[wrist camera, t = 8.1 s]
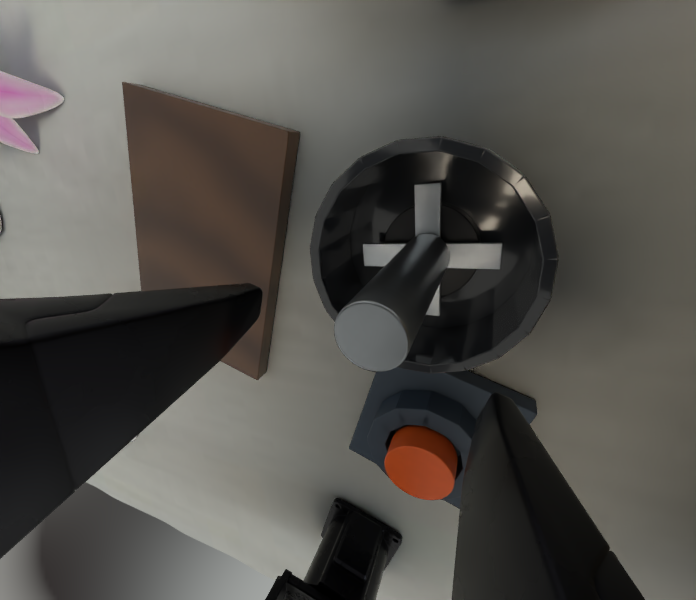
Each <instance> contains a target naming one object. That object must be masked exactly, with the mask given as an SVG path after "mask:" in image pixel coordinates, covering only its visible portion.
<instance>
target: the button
mask: <svg viewBox="0 0 696 600" xmlns="http://www.w3.org/2000/svg"><path fill="white" fill-rule="evenodd" d="M457 461H458V457H457V453H456V450H455V448H454V446H453V445H452V443H451V442H450V441H449V440H448V439H447V438H446V437H445V436H444V435H442V434H440V433H438V432H436V431H434V430H432V429H430V428H428V427H426V426H417V425H409V426H405V427H402V428H400V429H399V430H398V431H396V433H395V434H394V436H393V438H392V440H391V443H390V446H389V449H388V451H387V454H386V457H385V461H384V465H385V470H386V473H387V474H388V476H389V478H390V479H391V481H392V482H393V483H394V484H395V485H396V486H397V487H399V488H400V489H401V490H403V491H404V492H406V493H407V494H409V495H412V496H414V497H417V498H420V499H425V500H438V499H442V498H444V497H446V496H448V495H449V494H450V493H451V492H452V490H453V488H454V484H455V476H456V469H457Z"/></svg>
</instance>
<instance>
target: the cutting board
mask: <svg viewBox="0 0 696 600" xmlns="http://www.w3.org/2000/svg"><path fill="white" fill-rule="evenodd" d="M122 85H123V96H124V107H125V118H126V129H127V140H128V150H129V161H130V172H131V183H132V194H133V205H134V216H135V226H136V237H137V248H138V259H139V270H140V281H141V291H151V290H164V289H177V288H190V287H203V286H216V285H229V284H242V283H251V284H253V285H255V286H258V287H260V288H261V289H262V291H263V297H262V305H261V313H260V316H259V318H258V320H257V321H256V322H255V323H254V324H253V326H252V327H251V328H250V329H249V330H248V331H247V332H246V333H245V335H244V336H243V337H242V338H241V339H240V340H239V341H238V342H237V343H236V345H235V346H234V347H233V348H232V349H231V350H230V351H229V352H228V353H227V354H226V355H225V356H224V357H223V358H222V359H221V360H220V361H221V362H223V363H225V364H227V365H229V366H231V367H233V368H235V369H237V370H239V371H241V372H242V373H244V374H246V375H248V376H250V377H252V378H254V379H256V380H258V379H259V378H261V377H262V376H263V375H264V374H265V373H266V370H267V363H268V356H269V349H270V342H271V335H272V328H273V321H274V313H275V306H276V299H277V292H278V285H279V278H280V271H281V264H282V257H283V250H284V243H285V235H286V228H287V221H288V214H289V207H290V200H291V193H292V186H293V179H294V172H295V165H296V158H297V150H298V143H299V136H300V132H298V131H294V130H291V129H288V128H284V127H281V126H277V125H274V124H271V123H267V122H264V121H261V120H257V119H254V118H250V117H247V116H244V115H240V114H237V113H234V112H230V111H227V110H223V109H220V108H217V107H213V106H210V105H206V104H203V103H200V102H196V101H193V100H190V99H186V98H183V97H179V96H176V95H173V94H169V93H166V92H162V91H159V90H156V89H152V88H149V87H146V86H142V85H138V84H133V83H127V82H122Z"/></svg>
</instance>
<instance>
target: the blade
mask: <svg viewBox="0 0 696 600" xmlns="http://www.w3.org/2000/svg"><path fill="white" fill-rule="evenodd" d="M441 190H442V183H429V184H416V185H414V194H415V205H414V206H412V207H410V208H408V209H407V210H405V211H404V212H402V213H401V214H400V215H399V216H398V217H397V218H396V219H394V221H393V222H392V223H391V225H390V226H389V228H388V230H387V232H386V235H385V238H384V243H363V256H364V266H384V267H383V268H382V269H381V270H380V271H379V272H378V273H377V274H376V275H375V276H374V277H373V278H372V279H371V280H370V281H369V282H368V283H367V284H366V286H365V287H364V288H363V289H362V290H361V291H360V292H359V293H358V294H357V295H356V296H355V297H354V298H353V299H352V300H351V301H350V302H349V303H348V304H347V305H346V306H345V307H344V308H343V309H342V310H341V311H340V312H339V314H338V315H337V318H336V320H335V325H334V335H335V339H336V342H337V345H338V347H339V349H340V350H341V352H342V353H343V354H344V356H345V357H346V358H347V359H348V360H350V361H351V362H352V363H354V364H355V365H357V366H358V367H361V368H363V369H366V370H369V371H375V372H383V371H388V370H391V369H393V368H396V367H397V366H399V365H400V364H401V363H402V362H403V361H404V360H405V358H406V357H407V355H408V353H409V351H410V348H411V346H412V344H413V342H414V339H415V337H416V335H417V333H418V331H419V328H420V326H421V324H422V322H423V320H424V317H425V315H434V316H440V297H441V296H445V295H449V294H451V293H454V292H455V291H457V290H459V289H460V288H462V287H463V286H464V285H465V284H466V283H468V281H469V280H470V279H471V278H472V276H473V275H474V273H475V271H476V269H500V268H501V256H502V243H481V238H480V234H479V231H478V228H477V226H476V224H475V223H474V221H473V220H472V218H471V217H470V216H469V215H468V214H467V213H466V212H465V211H463V210H462V209H460V208H459V207H457V206H455V205H453V204H450V203H447V202H442V201H441Z"/></svg>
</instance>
